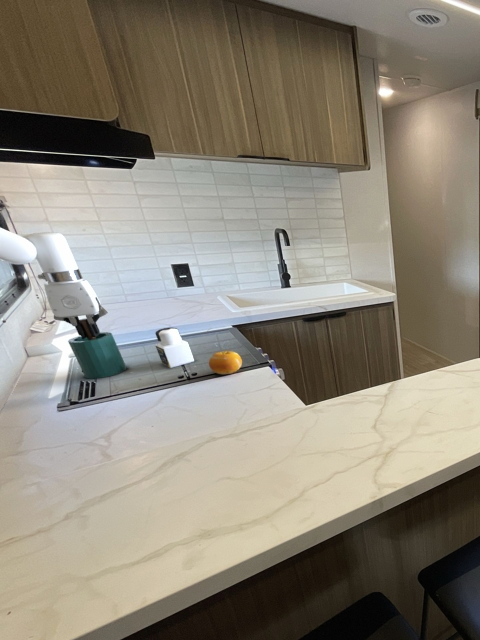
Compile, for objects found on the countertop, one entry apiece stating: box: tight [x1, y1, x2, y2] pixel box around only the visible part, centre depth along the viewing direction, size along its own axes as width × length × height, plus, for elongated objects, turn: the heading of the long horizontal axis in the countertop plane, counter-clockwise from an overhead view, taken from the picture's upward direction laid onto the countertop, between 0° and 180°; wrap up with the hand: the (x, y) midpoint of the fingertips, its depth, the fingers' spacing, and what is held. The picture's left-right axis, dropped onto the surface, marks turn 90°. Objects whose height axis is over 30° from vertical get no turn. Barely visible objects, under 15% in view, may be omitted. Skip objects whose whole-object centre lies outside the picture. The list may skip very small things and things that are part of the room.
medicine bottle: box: [154, 326, 195, 369], centre depth 135 cm, size 7×7×12 cm
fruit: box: [208, 350, 243, 375], centre depth 127 cm, size 8×8×8 cm
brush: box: [79, 318, 96, 340], centre depth 126 cm, size 4×4×14 cm
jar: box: [67, 331, 127, 379], centre depth 128 cm, size 10×10×12 cm
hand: (90, 336), depth 125 cm, fingers closed on brush
